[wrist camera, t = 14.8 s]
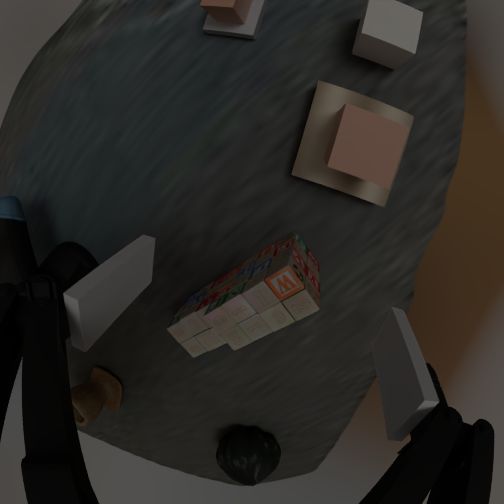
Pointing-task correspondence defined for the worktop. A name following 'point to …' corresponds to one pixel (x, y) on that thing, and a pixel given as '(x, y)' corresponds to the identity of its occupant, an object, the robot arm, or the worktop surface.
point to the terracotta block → (365, 145)
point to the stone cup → (95, 396)
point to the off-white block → (387, 33)
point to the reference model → (234, 17)
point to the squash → (248, 455)
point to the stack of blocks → (251, 299)
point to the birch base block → (319, 134)
